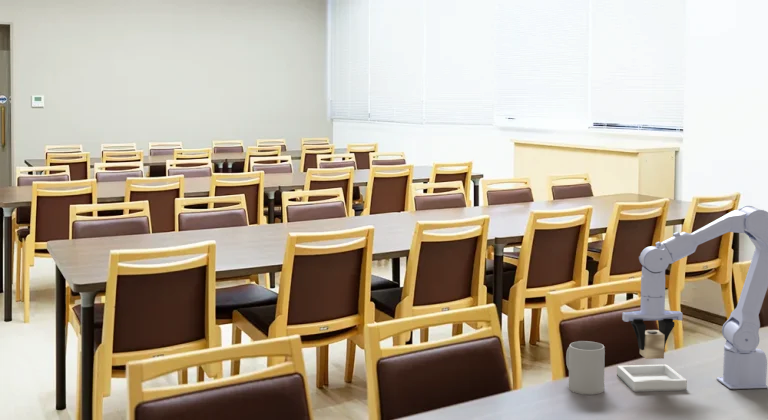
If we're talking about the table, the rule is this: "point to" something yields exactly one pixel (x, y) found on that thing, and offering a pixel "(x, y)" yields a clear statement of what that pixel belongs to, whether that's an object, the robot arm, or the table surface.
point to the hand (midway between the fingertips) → (651, 348)
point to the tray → (651, 378)
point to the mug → (586, 367)
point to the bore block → (653, 345)
